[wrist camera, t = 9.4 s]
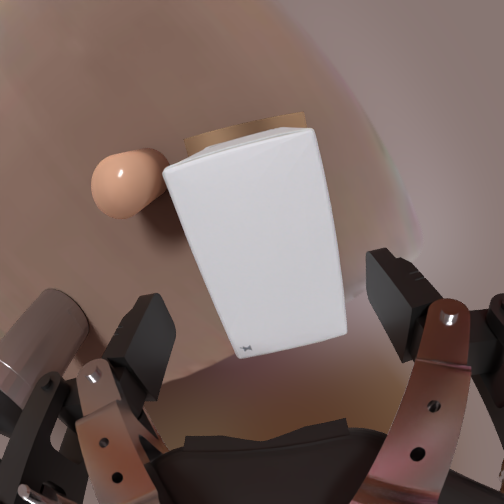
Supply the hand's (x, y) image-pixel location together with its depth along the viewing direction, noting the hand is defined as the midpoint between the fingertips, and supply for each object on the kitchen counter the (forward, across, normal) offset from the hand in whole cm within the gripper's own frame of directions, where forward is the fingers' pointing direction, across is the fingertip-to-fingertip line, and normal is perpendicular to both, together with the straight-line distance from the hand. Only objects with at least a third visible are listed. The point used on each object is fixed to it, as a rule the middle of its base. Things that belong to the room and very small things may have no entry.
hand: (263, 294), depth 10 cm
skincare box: (+12, 0, 0) cm, 12 cm away
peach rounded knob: (+16, +10, -4) cm, 19 cm away
